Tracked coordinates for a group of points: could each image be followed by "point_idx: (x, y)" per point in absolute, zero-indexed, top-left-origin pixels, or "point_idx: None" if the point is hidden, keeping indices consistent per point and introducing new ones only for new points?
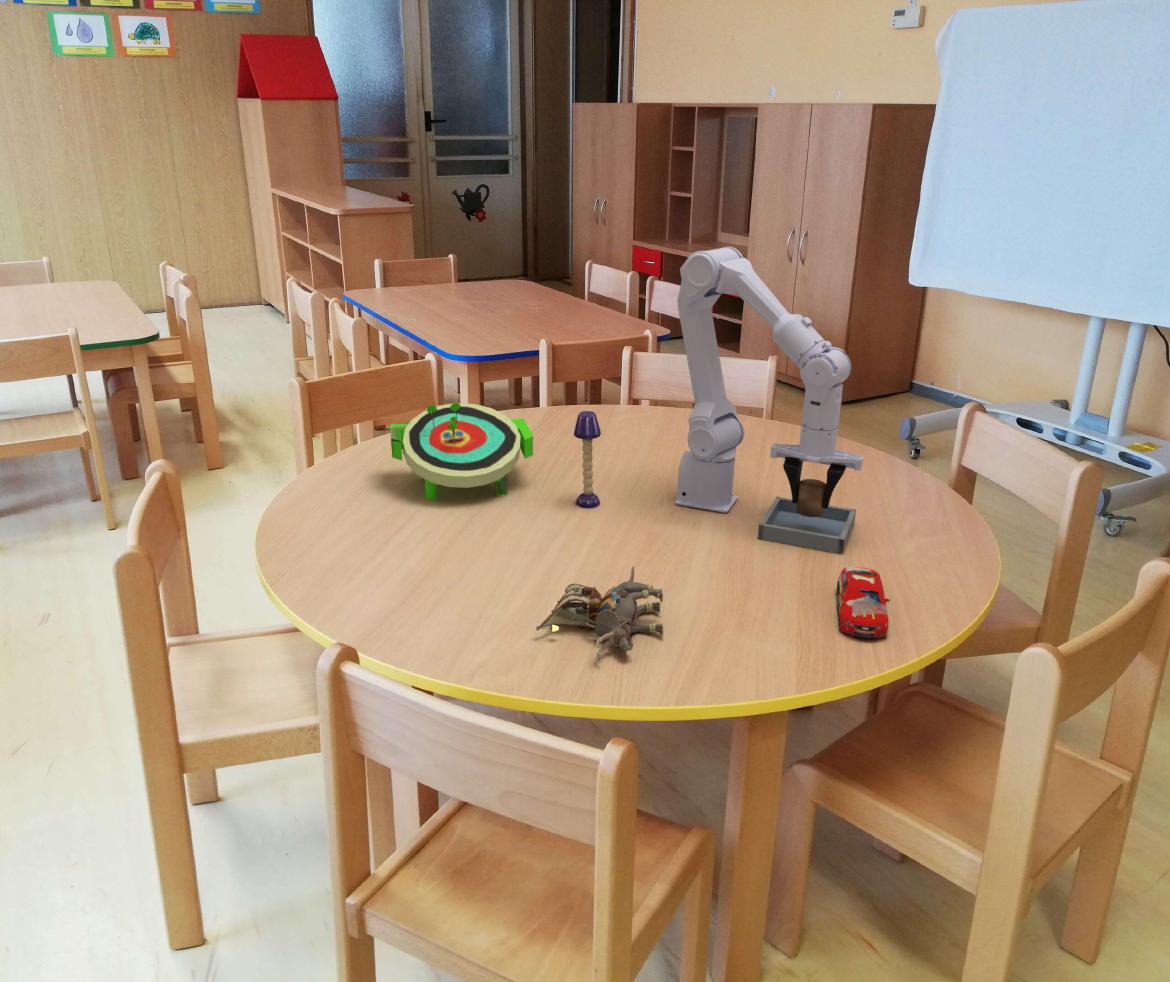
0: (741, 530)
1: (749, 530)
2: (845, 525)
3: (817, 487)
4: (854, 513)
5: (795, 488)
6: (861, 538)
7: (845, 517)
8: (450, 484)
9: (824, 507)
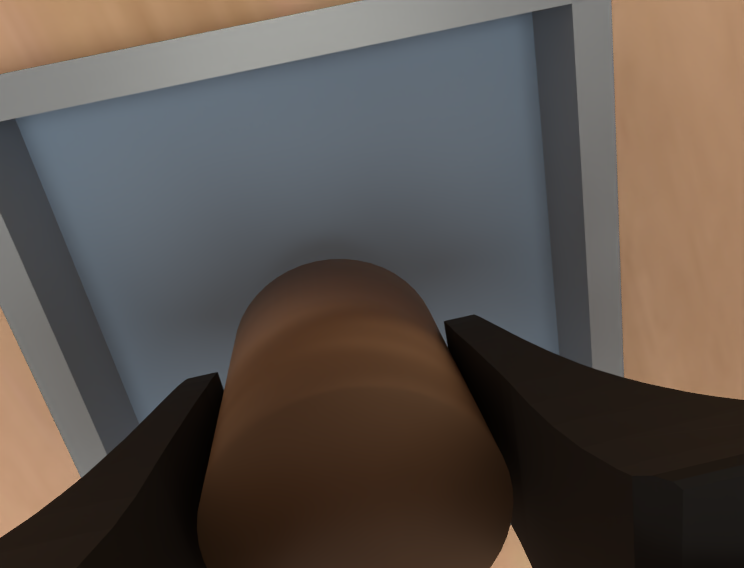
0: (690, 40)
1: (643, 75)
2: (59, 360)
3: (265, 462)
4: None
5: (504, 364)
6: (22, 393)
7: None
8: None
9: (201, 376)
